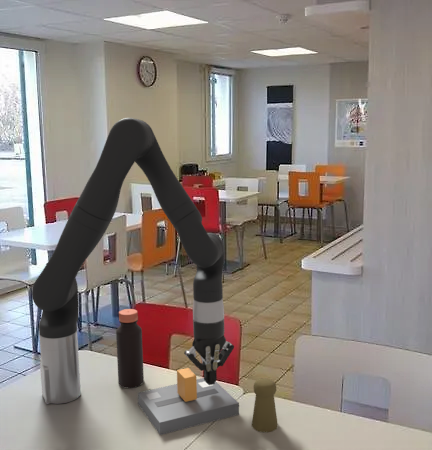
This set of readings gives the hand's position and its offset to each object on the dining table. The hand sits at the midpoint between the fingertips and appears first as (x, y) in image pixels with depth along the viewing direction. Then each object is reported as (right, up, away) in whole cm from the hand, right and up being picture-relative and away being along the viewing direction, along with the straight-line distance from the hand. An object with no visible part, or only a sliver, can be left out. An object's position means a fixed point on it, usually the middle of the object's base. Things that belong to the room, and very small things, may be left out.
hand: (210, 383), depth 140 cm
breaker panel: (-6, -6, -2) cm, 8 cm away
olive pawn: (+13, -7, -9) cm, 17 cm away
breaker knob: (-6, -3, -2) cm, 7 cm away
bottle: (-21, -4, +13) cm, 25 cm away
